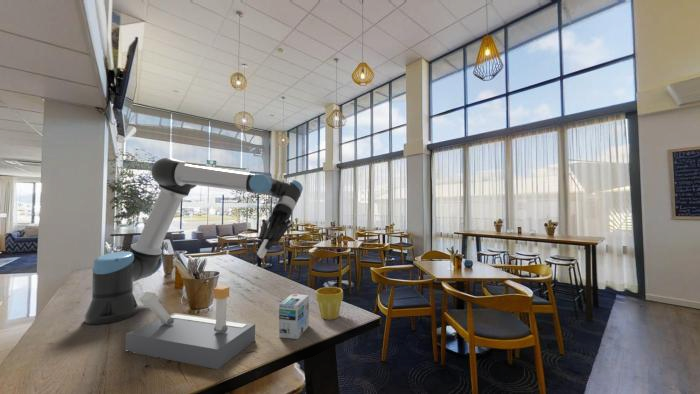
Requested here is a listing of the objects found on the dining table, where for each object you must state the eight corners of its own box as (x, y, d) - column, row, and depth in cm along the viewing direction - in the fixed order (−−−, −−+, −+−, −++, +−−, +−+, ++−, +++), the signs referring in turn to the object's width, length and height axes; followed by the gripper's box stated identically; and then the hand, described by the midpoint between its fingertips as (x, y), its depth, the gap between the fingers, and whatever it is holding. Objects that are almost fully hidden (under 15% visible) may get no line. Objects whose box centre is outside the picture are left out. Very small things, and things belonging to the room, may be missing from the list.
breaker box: (125, 351, 79) (125, 332, 79) (174, 327, 95) (174, 312, 95) (217, 369, 70) (217, 348, 71) (255, 340, 86) (255, 323, 86)
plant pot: (310, 317, 104) (310, 291, 104) (328, 309, 112) (328, 285, 112) (330, 324, 97) (331, 296, 98) (348, 315, 106) (348, 289, 106)
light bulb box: (297, 340, 86) (298, 305, 86) (277, 337, 87) (278, 303, 88) (309, 325, 97) (309, 294, 97) (291, 323, 98) (291, 293, 98)
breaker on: (161, 325, 85) (138, 299, 79) (168, 318, 87) (146, 291, 81) (169, 326, 84) (147, 300, 78) (175, 319, 86) (154, 292, 80)
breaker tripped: (212, 333, 79) (213, 288, 80) (219, 329, 82) (220, 286, 82) (222, 334, 78) (223, 289, 79) (228, 330, 81) (229, 286, 81)
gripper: (300, 215, 116) (279, 262, 100) (273, 215, 120) (249, 260, 103) (295, 202, 111) (272, 250, 95) (266, 202, 115) (239, 248, 98)
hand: (260, 255), depth 99 cm, fingers closed
